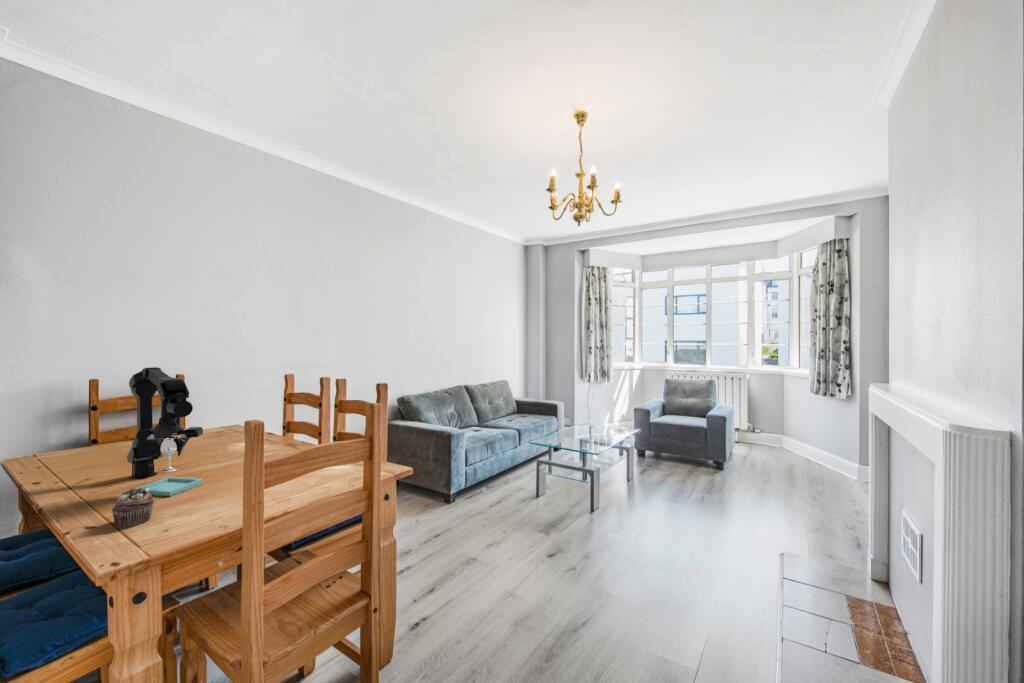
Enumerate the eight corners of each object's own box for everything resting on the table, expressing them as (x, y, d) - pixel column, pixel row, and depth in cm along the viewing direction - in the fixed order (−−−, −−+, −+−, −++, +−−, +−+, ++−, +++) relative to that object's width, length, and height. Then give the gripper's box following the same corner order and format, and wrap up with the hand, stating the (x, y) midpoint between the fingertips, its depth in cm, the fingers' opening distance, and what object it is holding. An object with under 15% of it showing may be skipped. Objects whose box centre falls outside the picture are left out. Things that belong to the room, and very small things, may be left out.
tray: (133, 494, 153) (133, 489, 153) (168, 481, 167) (168, 477, 167) (170, 496, 151) (170, 491, 151) (202, 483, 165) (202, 479, 165)
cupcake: (155, 513, 138) (156, 481, 137) (150, 524, 129) (151, 491, 129) (115, 519, 132) (115, 486, 132) (107, 531, 124) (108, 496, 124)
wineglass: (157, 473, 155) (158, 439, 155) (161, 469, 160) (162, 436, 160) (177, 471, 158) (178, 438, 158) (180, 467, 163) (181, 435, 163)
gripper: (127, 418, 148) (126, 464, 149) (192, 417, 154) (191, 461, 154) (143, 412, 159) (142, 455, 159) (203, 411, 165) (202, 452, 165)
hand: (169, 456), depth 159 cm, fingers closed on wineglass, 5 cm apart
